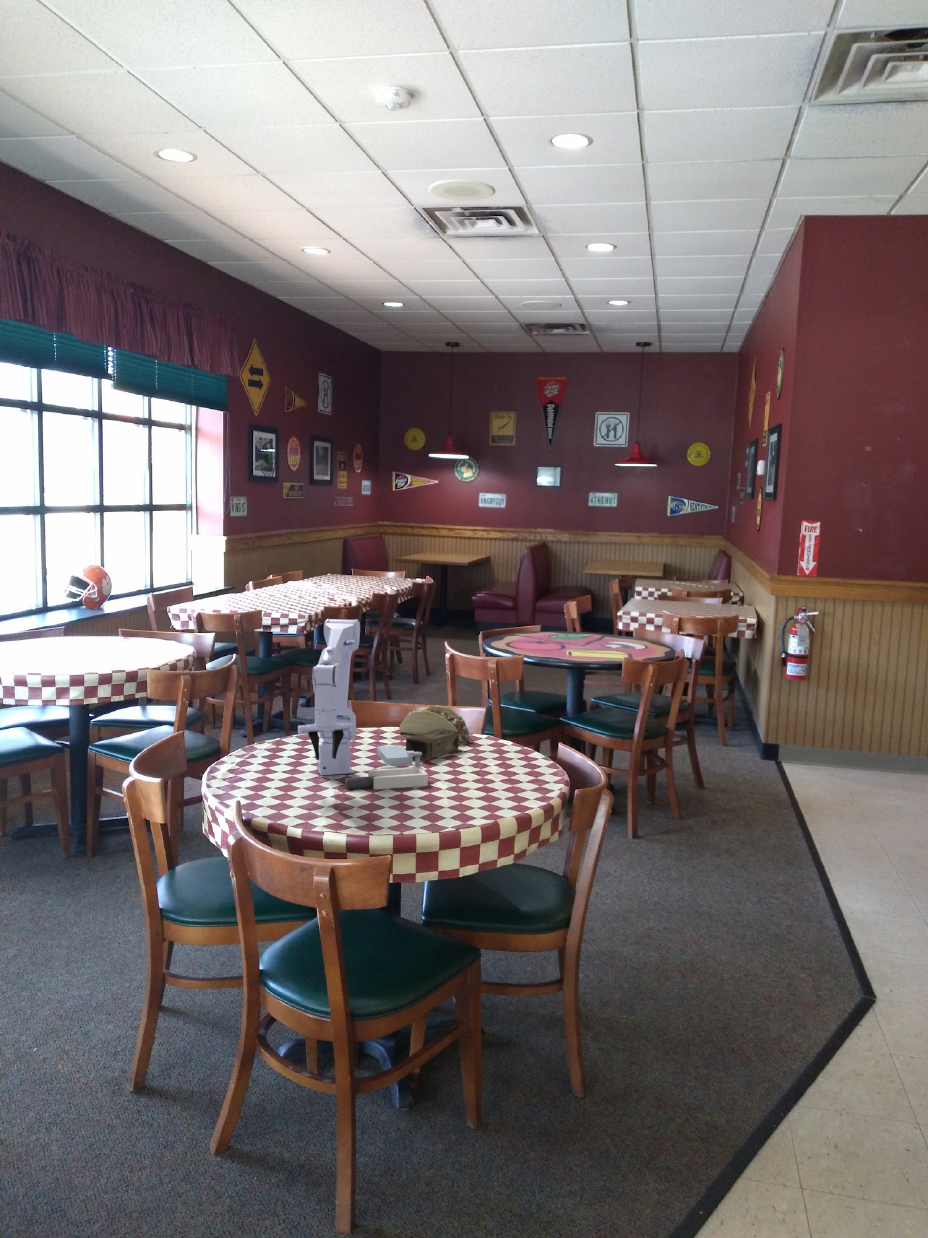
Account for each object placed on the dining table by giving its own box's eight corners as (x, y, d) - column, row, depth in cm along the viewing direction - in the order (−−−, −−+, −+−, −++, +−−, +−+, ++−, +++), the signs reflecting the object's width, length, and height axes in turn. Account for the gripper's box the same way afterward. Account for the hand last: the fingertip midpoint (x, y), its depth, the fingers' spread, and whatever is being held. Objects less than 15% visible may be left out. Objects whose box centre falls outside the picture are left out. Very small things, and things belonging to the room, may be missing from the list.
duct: (374, 789, 248) (374, 767, 247) (367, 779, 257) (367, 758, 256) (428, 785, 252) (428, 763, 252) (419, 775, 262) (419, 754, 261)
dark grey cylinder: (346, 791, 249) (348, 785, 246) (345, 781, 250) (346, 776, 248) (375, 789, 251) (377, 783, 249) (373, 779, 253) (375, 774, 251)
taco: (408, 729, 317) (408, 700, 316) (476, 740, 304) (477, 710, 303) (392, 735, 309) (393, 705, 307) (462, 746, 296) (463, 715, 295)
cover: (377, 753, 271) (377, 742, 271) (409, 751, 274) (409, 740, 274) (388, 767, 256) (388, 756, 256) (422, 765, 259) (422, 753, 259)
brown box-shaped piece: (460, 749, 292) (460, 729, 291) (425, 763, 276) (425, 741, 275) (439, 745, 296) (439, 725, 295) (403, 758, 280) (404, 737, 279)
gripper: (300, 713, 239) (300, 764, 241) (355, 710, 244) (355, 760, 245) (296, 707, 246) (297, 757, 248) (350, 705, 250) (350, 753, 252)
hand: (325, 758), depth 247 cm, fingers open, 4 cm apart
